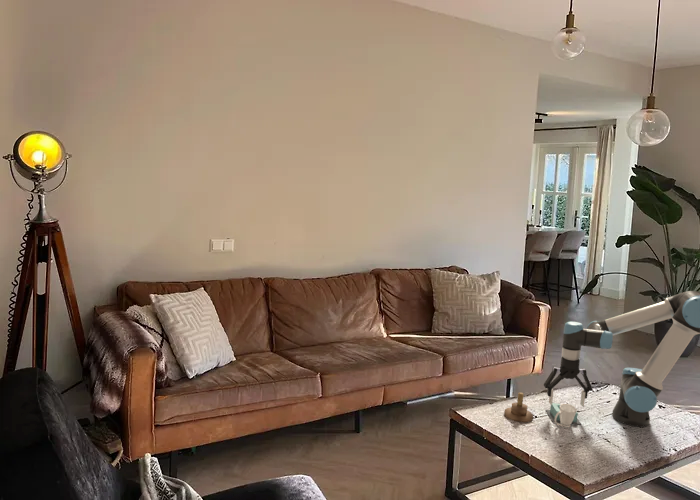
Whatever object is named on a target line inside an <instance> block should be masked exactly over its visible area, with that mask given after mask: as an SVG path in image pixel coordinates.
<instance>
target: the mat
mask: <svg viewBox="0 0 700 500" xmlns="http://www.w3.org/2000/svg"><path fill="white" fill-rule="evenodd" d="M545 412H546V414H547V416H548V417H549V419H550V421H551V422H552V423H555V421H554V419H555V418H554V417H553V415H552V414H551V412H550V409H545ZM556 422H557V423H558V424H560V422H561V421H560V420H556ZM555 424H556V423H555ZM571 425H576V426H577V425H578V426H582V423H581V421H580V420H579V419H578V418H577V422H572V423H571Z"/></svg>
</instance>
